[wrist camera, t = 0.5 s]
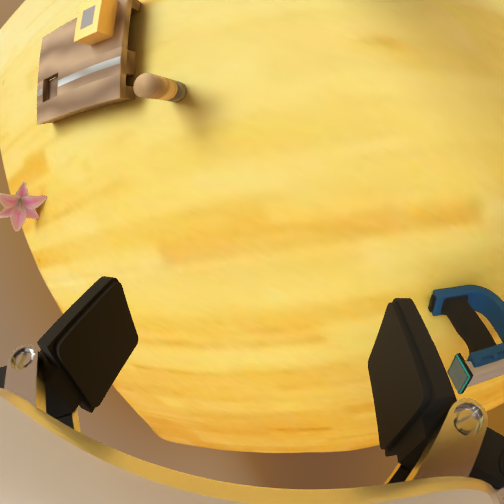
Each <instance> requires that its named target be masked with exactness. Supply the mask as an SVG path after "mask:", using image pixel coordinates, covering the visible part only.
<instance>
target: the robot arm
mask: <svg viewBox="0 0 504 504" xmlns="http://www.w3.org/2000/svg"><path fill="white" fill-rule="evenodd" d="M37 343H38V345H39V347H40V348H41V351H40V352H38V351H37V348H36V347H35V346H33V345H31V344H26V345H22V346H20V347H18V348H17V349H15V350H14V351H13V352H12V353H11V355H10V357H9V360H8V364H7V366H4V367H1V368H0V504H504V436H502V435H500V434H499V433H497V432H495V431H493V430H492V429H490V428H488V427H487V424H488V418H487V413H486V411H485V409H484V408H483V406H482V405H481V404H480V403H478V402H477V401H476V400H473V399H470V398H463V399H460V400H458V401H457V399H456V397H455V394H454V391H453V388H452V386H451V383H450V380H449V378H448V375H447V373H446V370H445V368H444V365H443V363H442V361H441V358H440V356H439V354H438V351H437V349H436V347H435V345H434V342H433V341H432V339H431V337H430V334H429V332H428V330H427V328H426V326H425V324H424V322H423V320H422V318H421V316H420V314H419V312H418V310H417V308H416V306H415V304H414V302H413V301H412V299H410V298H395V299H394V300H393V302H392V303H389V304H388V306H387V308H386V312H385V315H384V318H383V321H382V324H381V327H380V330H379V333H378V336H377V338H376V341H375V344H374V347H373V349H372V352H371V355H370V357H369V361H368V370H369V375H370V381H371V386H372V392H373V398H374V404H375V411H376V418H377V425H378V433H379V442H380V447H381V449H385V455H386V456H393V455H397V457H398V463H399V464H398V465H397V467H396V468H395V470H394V471H393V472H392V474H391V475H390V476H389V478H388V479H387V480H386V482H385V483H384V484H383V485H377V486H368V487H358V488H346V489H320V490H319V489H318V490H302V489H301V490H300V489H279V488H266V487H256V486H248V485H240V484H234V483H228V482H222V481H217V480H212V479H207V478H203V477H198V476H194V475H189V474H186V473H182V472H179V471H175V470H171V469H168V468H165V467H162V466H158V465H155V464H152V463H149V462H147V461H144V460H141V459H138V458H135V457H133V456H130V455H128V454H125V453H123V452H120V451H118V450H115V449H113V448H111V447H109V446H106V445H104V444H102V443H100V442H98V441H96V440H94V439H92V438H90V437H88V436H85V435H84V434H82V433H81V430H80V425H79V420H78V413H77V407H78V405H79V406H80V407H81V408H82V409H85V410H86V411H89V412H91V413H92V412H93V410H94V408H95V407H97V406H99V405H100V403H101V402H102V400H103V398H104V397H105V395H106V393H107V392H108V390H109V388H110V387H111V385H112V383H113V382H114V380H115V379H116V377H117V375H118V374H119V372H120V370H121V369H122V367H123V366H124V364H125V362H126V361H127V359H128V358H129V356H130V355H131V353H132V351H133V350H134V348H135V347H136V345H137V343H138V335H137V332H136V329H135V326H134V323H133V320H132V317H131V314H130V311H129V308H128V305H127V301H126V298H125V295H124V291H123V288H122V285H121V283H119V281H118V280H117V279H116V278H113V277H105V276H103V277H101V278H100V279H99V280H98V281H97V282H95V283H94V284H93V285H92V286H91V287H90V288H89V289H88V290H87V291H86V292H85V293H84V294H83V295H82V296H81V297H80V298H79V299H78V300H77V301H76V302H75V303H74V304H73V305H72V306H71V307H70V308H69V309H68V310H67V311H66V312H65V313H64V314H63V315H62V316H61V317H60V318H59V319H58V320H57V321H56V322H55V323H54V324H53V326H52V327H51V328H50V329H49V330H48V331H47V332H46V333H45V334H44V335H43V336H42V338H41V339H40V340H39V341H38V342H37Z"/></svg>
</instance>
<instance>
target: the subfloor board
mask: <svg viewBox="0 0 504 504" xmlns="http://www.w3.org/2000/svg"><path fill="white" fill-rule="evenodd" d="M117 1H118V4H117V10H116V17H115V25H114V34H113V37H111V38H108V39H106V40H103V41H100V42H98V43H96V44H93V45H91V46H90V45H86V44H81V43H76V42H74V37H75V30H76V23H77V18H78V17H77V18H75V19H74V20H72V21H70V22H68V23H66V24H65V25H63V26H61V27H59V28H58V29H56V30H54V31H53V32H51V33H50V34H48V35H46V36H45V37H43V39H42V46H41V54H40V62H39V73H38V90H37V125H39V124H45V123H52V122H55V121H58V120H61V119H63V118H66V117H69V116H72V115H75V114H79V113H82V112H85V111H88V110H92V109H95V108H99V107H103V106H107V105H111V104H115V103H119V102H123V101H128V100H132V99H135V93H134V89H133V87H132V86H126V77H129V76H133V75H135V62H136V52H134V51H131V50H128V49H127V46H128V34H129V24H130V16H131V14H133V13H136V12H140V5H141V2H139V1H138V0H117ZM56 76H58V77H56ZM54 77H56V78H54ZM52 78H54V79H52ZM50 79H52V80H50ZM49 80H50V81H49Z"/></svg>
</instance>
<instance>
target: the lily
mask: <svg viewBox="0 0 504 504" xmlns="http://www.w3.org/2000/svg"><path fill="white" fill-rule="evenodd" d="M46 199H47V196H28V190H27V186H26V183H25V182H23V183H22V185H21V186H20V188H19V189H18V191H17V193H16V195H8V194H2V193H0V203H1V204H2V205H3V207H5V208H4V209H3V210H2V211H1V212H0V218H6V217H10V219H11V223H12V226H13V228H14V230H15V231H16V232H17V231H19V230H20V228H21V227H22V225H23V224H24V222H25V220H26V217H27V218H32V219H38V218H39V215H38V214H37V212H36V211H35V209H36V208H37V207H39V206H40V205H41V204H42V203H43V202H44V201H45V200H46Z"/></svg>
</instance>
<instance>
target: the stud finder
mask: <svg viewBox="0 0 504 504" xmlns="http://www.w3.org/2000/svg"><path fill="white" fill-rule="evenodd" d="M117 4H118V1H117V0H89V1H87V2H85V3H83V4H81V5H80V7H79V12H78V18H77V23H76V30H75V37H74V42H76V43H81V44H86V45H90V46H91V45H93V44H96V43H98V42H100V41H103V40H106V39H108V38H111V37H113V34H114V25H115V17H116V10H117Z"/></svg>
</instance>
